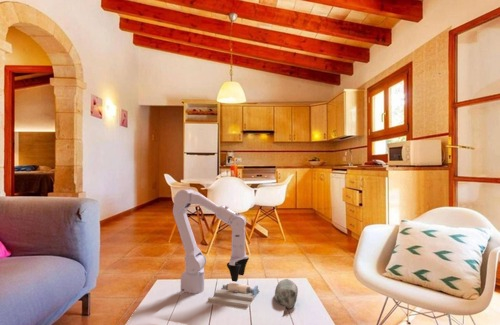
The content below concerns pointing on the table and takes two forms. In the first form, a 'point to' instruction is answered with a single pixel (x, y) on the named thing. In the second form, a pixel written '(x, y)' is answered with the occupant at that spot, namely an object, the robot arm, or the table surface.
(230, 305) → the beige mounting plate
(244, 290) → the cream cylinder
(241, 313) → the table surface
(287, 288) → the mottled grey stone
